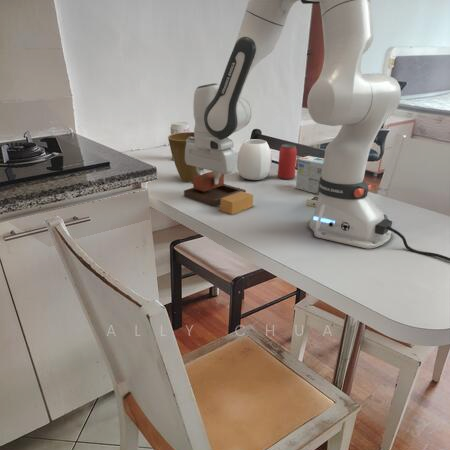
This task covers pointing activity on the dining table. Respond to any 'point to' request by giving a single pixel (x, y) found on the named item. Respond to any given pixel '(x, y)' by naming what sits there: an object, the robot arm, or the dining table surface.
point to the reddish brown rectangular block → (206, 181)
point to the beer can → (287, 161)
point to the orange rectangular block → (236, 202)
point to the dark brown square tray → (212, 194)
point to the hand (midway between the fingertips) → (208, 182)
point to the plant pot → (182, 156)
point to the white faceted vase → (254, 159)
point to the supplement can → (179, 128)
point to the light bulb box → (309, 173)
